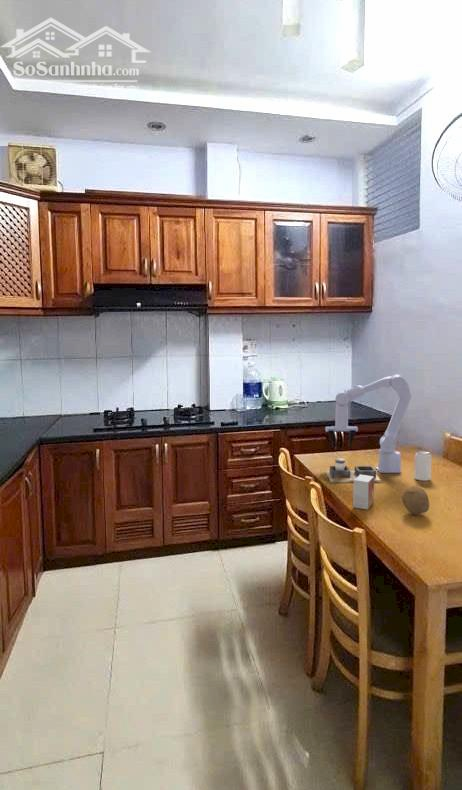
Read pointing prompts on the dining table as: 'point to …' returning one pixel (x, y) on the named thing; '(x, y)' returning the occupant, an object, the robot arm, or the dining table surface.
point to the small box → (363, 492)
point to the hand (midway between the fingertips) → (341, 446)
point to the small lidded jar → (339, 464)
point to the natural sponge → (415, 500)
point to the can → (422, 465)
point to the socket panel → (351, 474)
